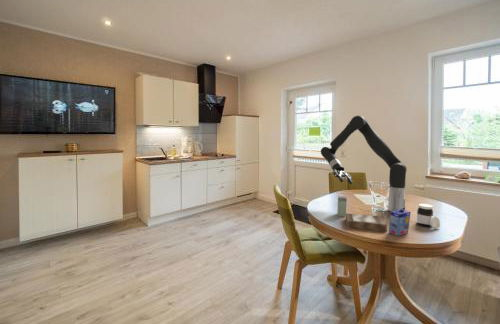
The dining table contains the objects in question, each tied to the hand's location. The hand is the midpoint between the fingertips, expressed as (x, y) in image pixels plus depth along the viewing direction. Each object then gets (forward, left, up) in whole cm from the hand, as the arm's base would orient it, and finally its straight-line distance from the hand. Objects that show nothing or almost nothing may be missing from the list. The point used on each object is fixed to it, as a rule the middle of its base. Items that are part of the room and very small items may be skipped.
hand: (347, 182), depth 172 cm
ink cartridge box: (-25, +32, -20) cm, 46 cm away
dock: (-9, +25, -20) cm, 34 cm away
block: (+3, +10, -20) cm, 23 cm away
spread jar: (-44, +17, -20) cm, 51 cm away
